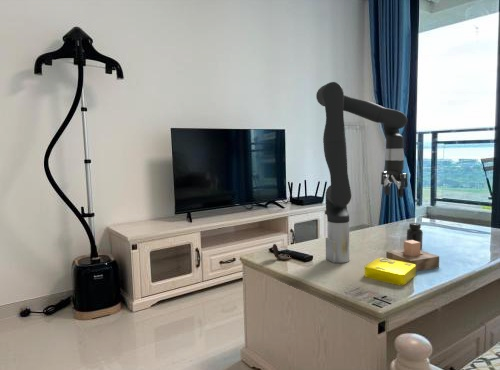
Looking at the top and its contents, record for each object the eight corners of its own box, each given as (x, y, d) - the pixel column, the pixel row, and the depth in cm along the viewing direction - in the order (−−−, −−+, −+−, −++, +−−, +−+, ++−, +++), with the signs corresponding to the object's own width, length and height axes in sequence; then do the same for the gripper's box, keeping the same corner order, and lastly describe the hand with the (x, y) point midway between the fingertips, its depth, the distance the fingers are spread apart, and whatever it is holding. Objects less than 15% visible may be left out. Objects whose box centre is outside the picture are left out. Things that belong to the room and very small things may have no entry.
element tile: (362, 277, 134) (362, 265, 134) (378, 267, 145) (378, 255, 145) (403, 287, 124) (403, 274, 124) (417, 275, 135) (417, 262, 135)
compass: (293, 260, 156) (293, 244, 156) (276, 262, 155) (275, 245, 154) (287, 255, 164) (287, 239, 163) (271, 256, 163) (270, 241, 162)
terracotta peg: (411, 263, 143) (411, 243, 142) (403, 259, 147) (403, 241, 147) (420, 261, 145) (420, 242, 144) (412, 258, 149) (412, 239, 148)
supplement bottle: (405, 249, 166) (406, 224, 165) (406, 246, 172) (407, 221, 171) (422, 251, 163) (422, 225, 161) (422, 247, 169) (423, 222, 167)
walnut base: (410, 272, 137) (410, 260, 137) (386, 261, 151) (386, 251, 150) (439, 267, 142) (439, 256, 141) (412, 257, 155) (413, 247, 154)
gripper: (376, 159, 160) (376, 194, 162) (398, 159, 146) (397, 198, 148) (390, 158, 162) (390, 193, 164) (413, 159, 148) (412, 197, 150)
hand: (393, 196), depth 156 cm, fingers open, 8 cm apart
